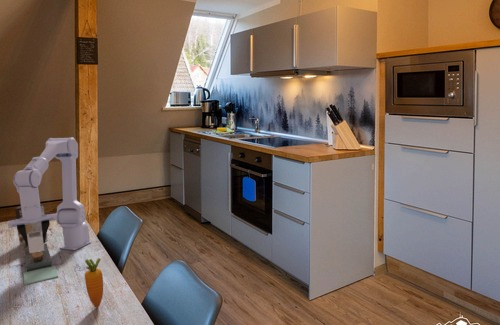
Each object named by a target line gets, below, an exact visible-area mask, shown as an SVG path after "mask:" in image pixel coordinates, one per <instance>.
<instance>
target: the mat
mask: <svg viewBox="0 0 500 325" xmlns="http://www.w3.org/2000/svg"><path fill="white" fill-rule="evenodd" d="M22 274H23V283H24V284H23V285H24V286H26V285H30V284H35V283H38V282H43V281H48V280H52V279H55V278H59V275H58V270H57V267H56V265H52V267H47V268H43V269H38V270H34V271H29V272H27V271H25V272H23V273H22Z"/></svg>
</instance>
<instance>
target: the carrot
mask: <svg viewBox="0 0 500 325" xmlns="http://www.w3.org/2000/svg"><path fill="white" fill-rule="evenodd" d="M101 259H102V258H100V257H99V258H97V259H96V261H95V262H94V261H93V259H92V258H90V259H88V258H86V259H85V261H84V263H85V264H86V265H87V266H86V267H85V268H86V269H88V270H87V271H85V272H84V281H85V288H86V292H87V295H88V299H89V301H90V303H91V304H92V305H93V307H94V308H96V309H98V308H100V306H101V303H102V300H103V295H104V294H103V293H104V278H103V271H102V269H101V268H98V266H99V263H100V262H101Z"/></svg>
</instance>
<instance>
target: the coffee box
mask: <svg viewBox="0 0 500 325" xmlns="http://www.w3.org/2000/svg"><path fill="white" fill-rule="evenodd" d="M40 206H41V214H42V215H46V214H45V206H44V204H43V203H42V204H41V203H40ZM14 212H15V220H16V219H20V218H23V216H22V209H21V205H19V206H17V207H15V208H14ZM25 227H26V235H27V234H28V232H31V231H37V230H40V232H42V226H41V222H39V223H33V224H27V225H25ZM17 237H18V243H19V246H26V243H25V241H24V239H23V237H22V235H21V234H20V233H19V231H18V230H17ZM27 239H28V238H27ZM48 239H49V238H48V233H47V234H46V242H47V241H48Z"/></svg>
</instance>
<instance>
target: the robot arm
mask: <svg viewBox="0 0 500 325" xmlns="http://www.w3.org/2000/svg"><path fill="white" fill-rule="evenodd" d="M54 158H55V159H57V160H59V161H60V162H61V178H62V179H61V180H62V181H61V182H62V186H61V187H62V202H60V203H59V205H57V207H56V213H50V214H48V213H47V214H45V215H42V214H41V206H40V204H41V200H40V191H39V186H40V184H41V183H42V179H43V175H44V173H45V172H46V171H47V170H48V168H49V166H50V165H49V162H50V161H52V160H53V159H54ZM78 158H79V144H78V141H77V140H76V139H75V138H74V137H72V136H71V137H54V138H53V137H49V138H48V139H47V140H46V141H45V149H44V150H43V151H42V152H41V153H40V155H39V156H35V157H34V156H33V157H32V158H31V161H29V162H28V164H27V165H26V166H25V167H24V168H23V170H18V171H17V172H15V173H14V176H13V180H12V183H13V185H14V186H15V188H16V192H17V193H18V194H19V199H20V200H19V201H20V206H21V209H22V216H23V218H20V219H16V218H15V219H12V220H8V221H7V228H8V229H12V228H14V227H16V230H17V232H18V231H19V233H20V234H21V235H22V237H23V239H24V241H25V243H26V245H25V247H29V245H28V239H27V235H26V227H25V225H27V224H33V223H39V222H41V226H42V236H43V243H44V244H45V243H46V242H47V241H46V234H47V235H48V230H49V227H50V225H51V224H50V222H51V221H56V223H57V224H58V225H59V226H60V228H62V236H63V245H61V246H59V249H61V250H69V251H76V250H79V249H81V248H83V247H84V246H86V245H89V244H90V243H92V240H91V239H90V231H89V227H88V226H89V225H88V224H87V223H86V222H85V221H86V217H87V216H86V211H85V205H84V204H83V203H81V202H80V201H78V198H77V195H78V193H77V166H76V165H77V163H76V162H77V159H78Z"/></svg>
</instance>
